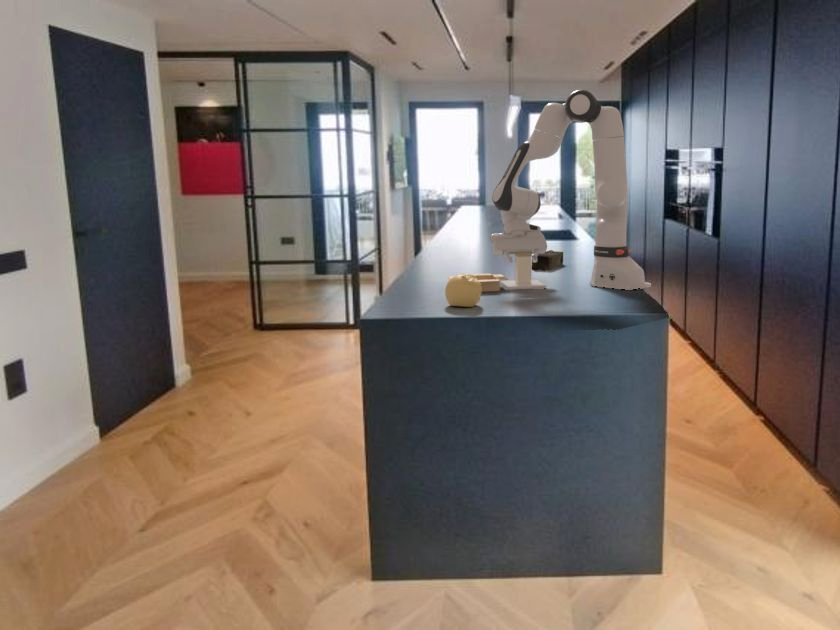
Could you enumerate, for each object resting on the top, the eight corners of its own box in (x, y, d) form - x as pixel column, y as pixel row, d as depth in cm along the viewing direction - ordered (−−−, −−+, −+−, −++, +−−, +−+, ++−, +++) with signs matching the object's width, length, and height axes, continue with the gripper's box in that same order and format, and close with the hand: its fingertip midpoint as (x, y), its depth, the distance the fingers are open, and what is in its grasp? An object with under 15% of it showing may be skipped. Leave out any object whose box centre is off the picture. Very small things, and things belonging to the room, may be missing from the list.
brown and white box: (514, 282, 281) (514, 253, 278) (528, 281, 281) (528, 252, 279) (517, 284, 276) (517, 254, 274) (531, 283, 277) (531, 254, 274)
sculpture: (484, 308, 241) (484, 275, 239) (447, 310, 240) (447, 276, 238) (479, 301, 252) (479, 270, 250) (443, 303, 251) (443, 271, 249)
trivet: (500, 284, 285) (500, 280, 285) (536, 282, 286) (536, 279, 286) (508, 290, 271) (508, 287, 271) (546, 288, 273) (546, 285, 272)
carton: (446, 287, 281) (446, 275, 280) (499, 284, 283) (499, 273, 282) (453, 295, 264) (453, 282, 264) (509, 292, 266) (509, 280, 266)
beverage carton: (564, 265, 330) (564, 250, 328) (548, 271, 314) (548, 255, 312) (546, 264, 334) (547, 249, 332) (530, 270, 318) (530, 254, 316)
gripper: (490, 228, 281) (496, 257, 273) (544, 226, 283) (551, 255, 275) (488, 238, 286) (493, 268, 279) (541, 237, 288) (547, 265, 281)
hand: (522, 261), depth 277 cm, fingers open, 8 cm apart
